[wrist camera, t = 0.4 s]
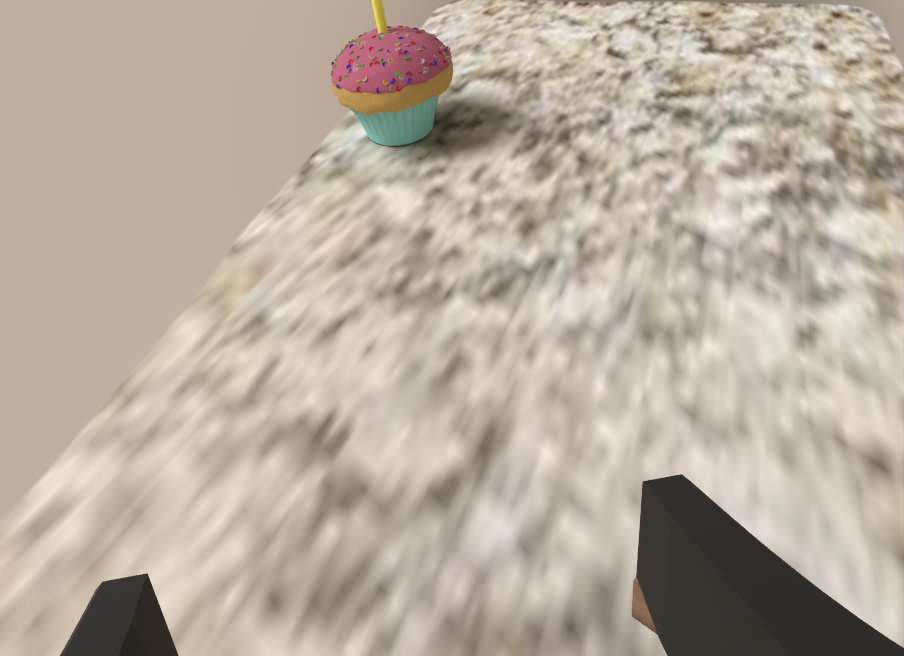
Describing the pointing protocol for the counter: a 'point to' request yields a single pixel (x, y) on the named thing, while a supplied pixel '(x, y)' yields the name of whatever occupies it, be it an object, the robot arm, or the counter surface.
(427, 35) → the cupcake
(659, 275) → the counter surface
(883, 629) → the counter surface
